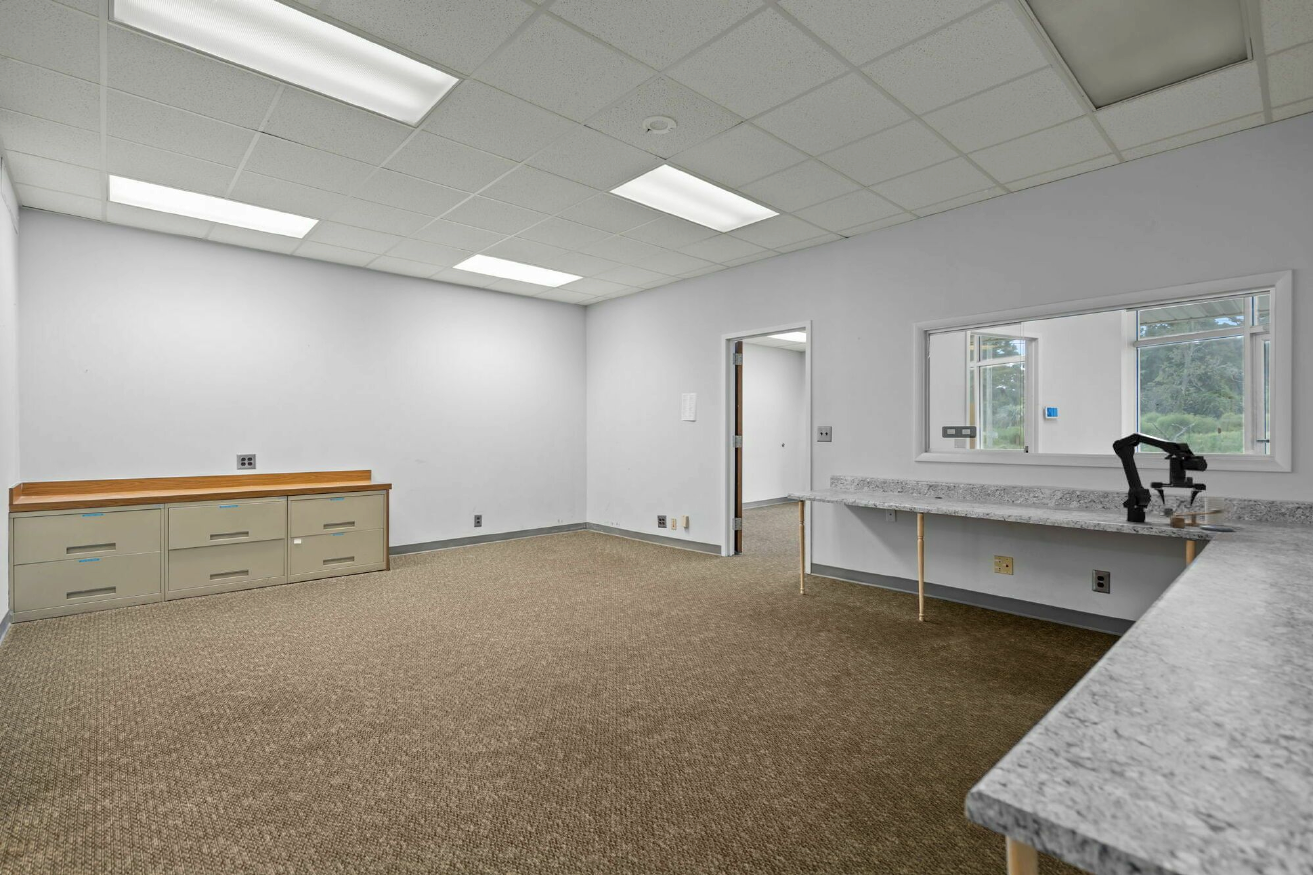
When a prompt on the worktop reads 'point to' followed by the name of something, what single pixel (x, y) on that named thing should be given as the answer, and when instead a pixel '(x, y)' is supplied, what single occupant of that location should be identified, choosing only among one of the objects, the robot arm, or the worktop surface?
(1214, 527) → the dish
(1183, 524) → the block
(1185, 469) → the robot arm
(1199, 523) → the balance
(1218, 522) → the mug
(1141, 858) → the worktop surface
